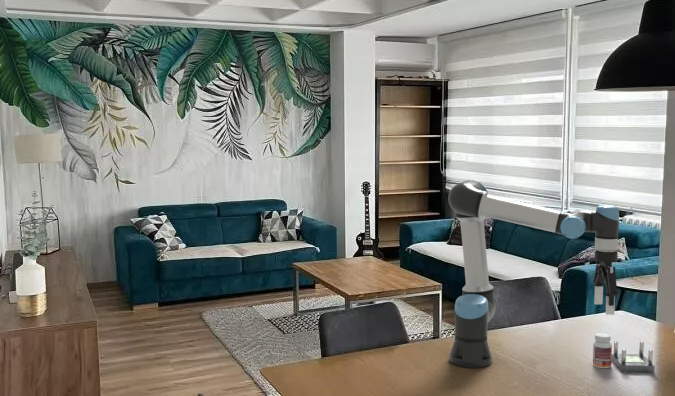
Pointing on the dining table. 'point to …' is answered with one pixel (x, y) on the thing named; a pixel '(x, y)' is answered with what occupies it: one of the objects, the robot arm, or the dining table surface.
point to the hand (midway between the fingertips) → (604, 309)
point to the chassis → (633, 360)
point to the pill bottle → (602, 350)
